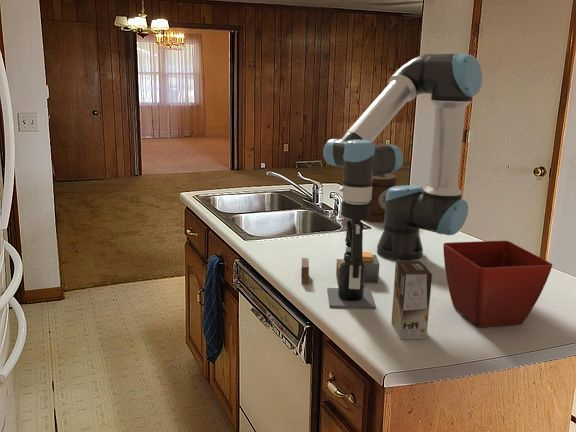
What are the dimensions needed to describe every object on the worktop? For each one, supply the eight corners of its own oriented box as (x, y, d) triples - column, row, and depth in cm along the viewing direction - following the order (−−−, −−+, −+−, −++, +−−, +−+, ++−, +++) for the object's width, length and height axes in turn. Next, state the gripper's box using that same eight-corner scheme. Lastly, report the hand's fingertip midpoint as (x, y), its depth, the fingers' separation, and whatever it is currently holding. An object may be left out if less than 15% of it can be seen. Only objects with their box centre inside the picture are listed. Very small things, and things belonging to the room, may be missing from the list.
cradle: (342, 275, 167) (343, 259, 166) (344, 284, 159) (345, 268, 158) (301, 273, 167) (301, 257, 166) (301, 283, 160) (301, 267, 158)
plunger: (369, 271, 167) (370, 252, 165) (371, 276, 163) (372, 256, 161) (354, 270, 167) (356, 251, 165) (356, 276, 163) (357, 256, 161)
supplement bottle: (362, 302, 146) (365, 259, 143) (336, 300, 147) (338, 256, 144) (364, 293, 152) (367, 251, 149) (339, 290, 154) (341, 249, 151)
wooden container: (387, 224, 224) (391, 170, 219) (352, 219, 230) (355, 166, 225) (397, 216, 237) (401, 165, 232) (363, 211, 243) (366, 161, 238)
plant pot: (544, 330, 135) (555, 264, 130) (472, 335, 131) (481, 268, 126) (499, 298, 153) (507, 239, 148) (435, 303, 149) (441, 242, 144)
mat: (370, 291, 155) (370, 289, 155) (376, 308, 144) (376, 306, 144) (327, 289, 156) (327, 287, 155) (329, 307, 144) (329, 305, 144)
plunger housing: (374, 273, 169) (375, 254, 167) (378, 283, 161) (379, 263, 160) (348, 272, 169) (349, 254, 168) (350, 282, 161) (351, 263, 160)
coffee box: (427, 339, 128) (433, 273, 124) (400, 340, 127) (405, 274, 123) (415, 322, 137) (421, 260, 133) (389, 322, 136) (394, 260, 132)
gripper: (338, 190, 155) (334, 262, 160) (345, 212, 131) (341, 296, 136) (365, 191, 155) (361, 263, 160) (377, 213, 131) (371, 297, 136)
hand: (351, 278), depth 148 cm, fingers open, 13 cm apart
